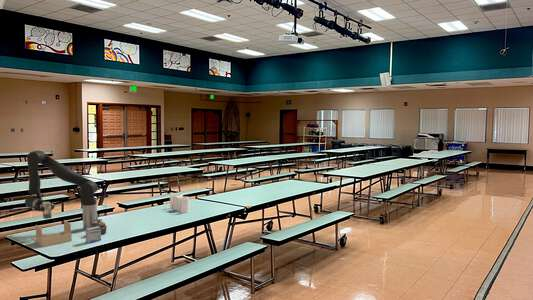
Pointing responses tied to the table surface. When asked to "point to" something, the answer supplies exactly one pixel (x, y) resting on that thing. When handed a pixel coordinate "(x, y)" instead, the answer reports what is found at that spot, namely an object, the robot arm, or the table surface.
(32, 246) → the table surface
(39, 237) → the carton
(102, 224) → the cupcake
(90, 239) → the medicine box
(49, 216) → the box
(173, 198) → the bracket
